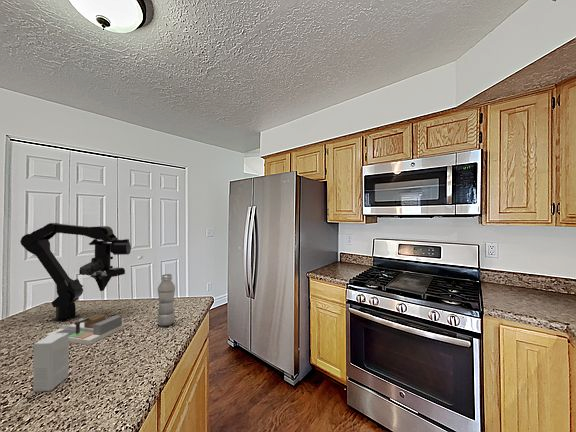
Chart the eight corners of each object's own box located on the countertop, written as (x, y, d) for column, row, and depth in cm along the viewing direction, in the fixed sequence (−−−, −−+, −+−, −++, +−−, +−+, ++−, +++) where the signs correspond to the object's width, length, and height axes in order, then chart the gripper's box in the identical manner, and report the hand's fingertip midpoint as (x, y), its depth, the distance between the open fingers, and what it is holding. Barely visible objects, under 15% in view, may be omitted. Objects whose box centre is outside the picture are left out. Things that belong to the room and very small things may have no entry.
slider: (70, 335, 91) (70, 322, 91) (96, 324, 101) (97, 312, 101) (79, 337, 90) (79, 324, 90) (105, 325, 100) (105, 313, 100)
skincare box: (51, 377, 70) (52, 332, 70) (68, 376, 71) (69, 332, 71) (31, 392, 64) (32, 343, 64) (50, 391, 64) (51, 343, 65)
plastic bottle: (168, 328, 102) (169, 277, 102) (153, 327, 103) (154, 276, 103) (178, 322, 108) (179, 273, 108) (164, 320, 110) (164, 273, 110)
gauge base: (45, 338, 92) (46, 324, 92) (84, 323, 106) (84, 310, 106) (89, 344, 88) (89, 330, 88) (123, 328, 102) (123, 315, 102)
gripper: (66, 256, 108) (65, 294, 108) (103, 258, 104) (102, 297, 104) (92, 253, 119) (91, 287, 119) (126, 255, 115) (125, 290, 115)
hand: (101, 290), depth 114 cm, fingers closed
